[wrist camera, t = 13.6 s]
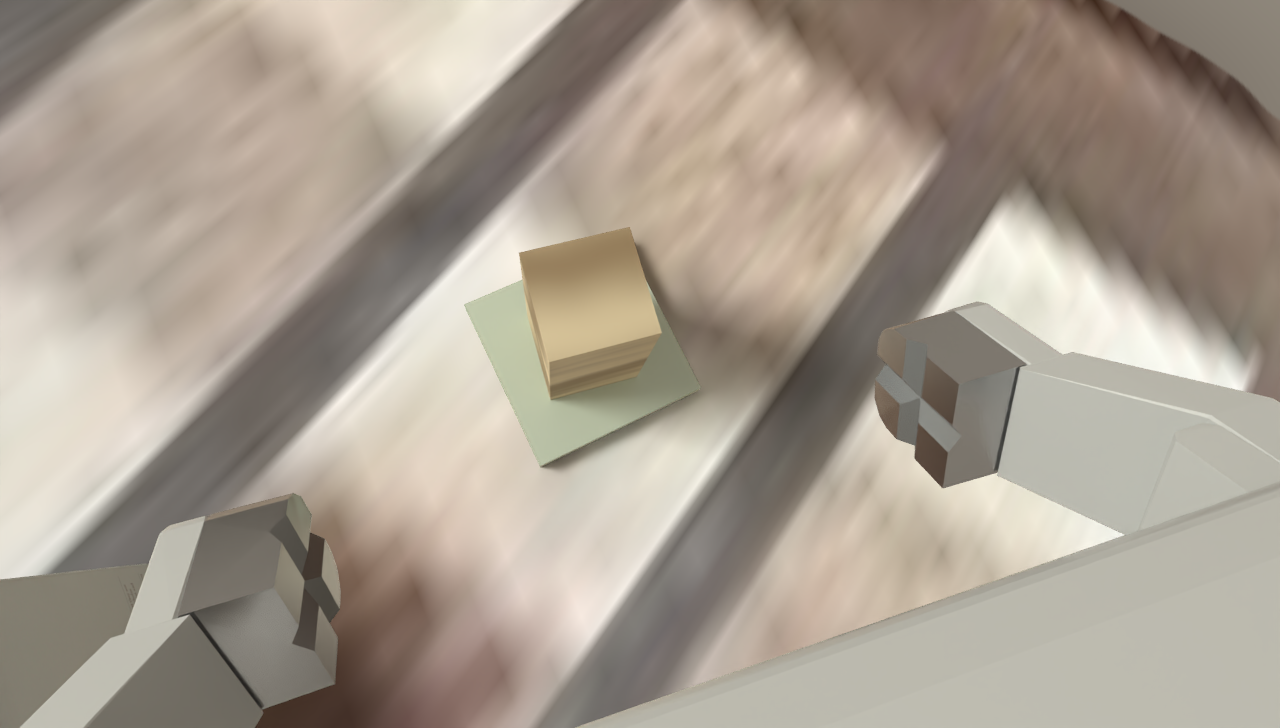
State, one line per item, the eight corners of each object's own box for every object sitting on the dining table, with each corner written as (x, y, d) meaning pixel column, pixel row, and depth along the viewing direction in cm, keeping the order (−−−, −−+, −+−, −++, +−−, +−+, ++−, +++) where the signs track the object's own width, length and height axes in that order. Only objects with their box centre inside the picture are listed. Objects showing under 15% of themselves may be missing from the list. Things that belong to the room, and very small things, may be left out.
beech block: (636, 376, 42) (662, 332, 32) (550, 400, 41) (549, 362, 31) (612, 294, 42) (629, 227, 33) (527, 315, 42) (519, 252, 32)
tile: (698, 391, 43) (701, 387, 42) (540, 467, 41) (540, 466, 40) (621, 242, 44) (623, 236, 43) (466, 309, 42) (463, 304, 41)
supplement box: (154, 558, 38) (-38, 576, 25) (196, 700, 37) (16, 791, 24) (-1, 618, 36) (-284, 668, 24) (38, 767, 35) (-238, 899, 23)
